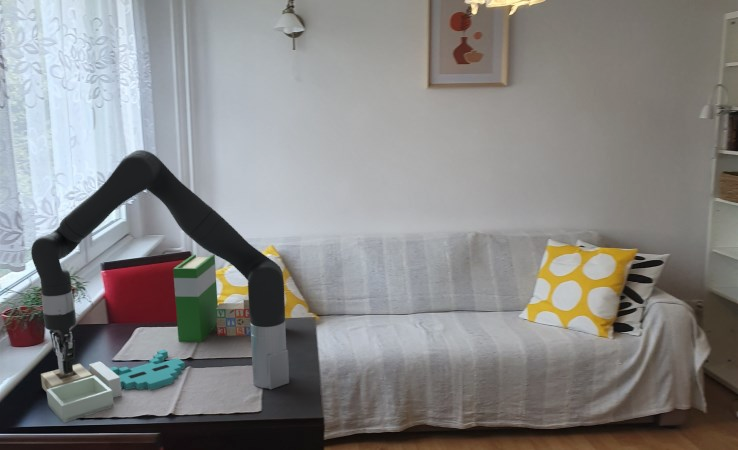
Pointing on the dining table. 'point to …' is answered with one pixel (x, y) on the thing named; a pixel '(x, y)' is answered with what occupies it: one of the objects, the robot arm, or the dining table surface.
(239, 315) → the stack of blocks
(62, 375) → the steel dowel
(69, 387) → the tray
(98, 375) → the bar
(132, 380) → the alien figure
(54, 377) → the socket block
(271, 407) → the dining table surface
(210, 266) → the hardback book
